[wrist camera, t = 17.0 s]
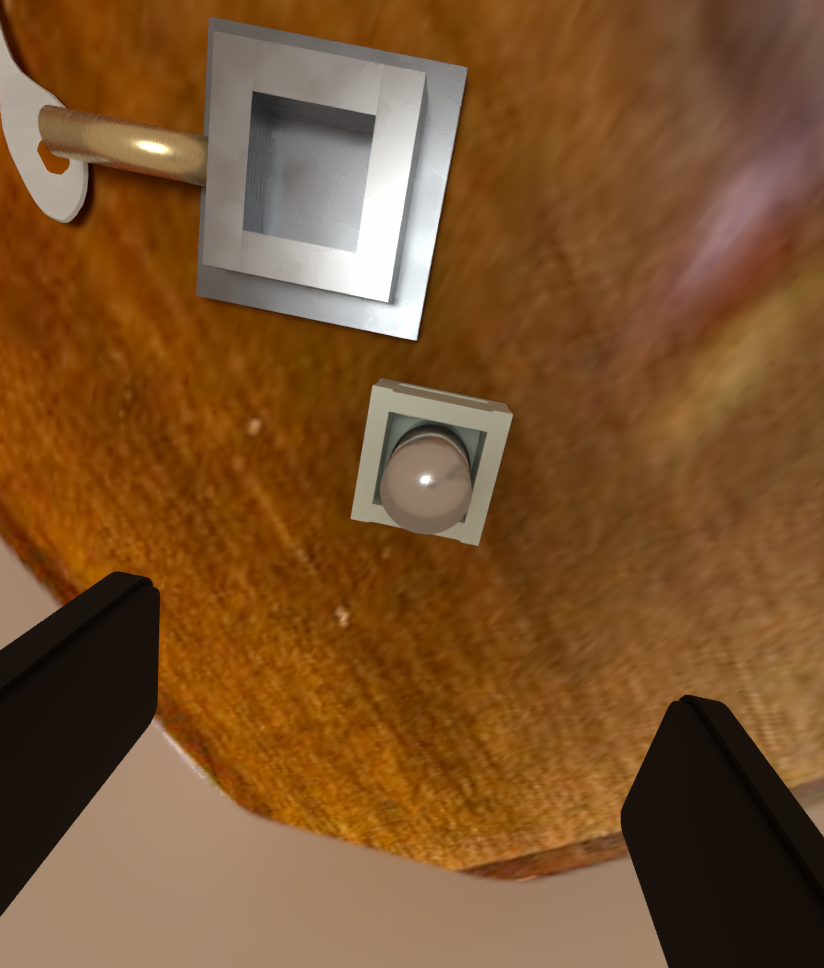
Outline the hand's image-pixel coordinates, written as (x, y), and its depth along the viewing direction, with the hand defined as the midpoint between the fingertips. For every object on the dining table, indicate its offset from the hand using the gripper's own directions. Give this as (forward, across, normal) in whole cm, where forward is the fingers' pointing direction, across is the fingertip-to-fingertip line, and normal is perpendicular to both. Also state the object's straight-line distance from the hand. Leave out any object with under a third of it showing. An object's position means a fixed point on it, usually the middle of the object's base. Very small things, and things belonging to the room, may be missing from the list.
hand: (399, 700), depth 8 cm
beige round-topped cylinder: (+19, 0, 0) cm, 19 cm away
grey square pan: (+20, +11, -12) cm, 26 cm away
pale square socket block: (+20, 0, 0) cm, 20 cm away
